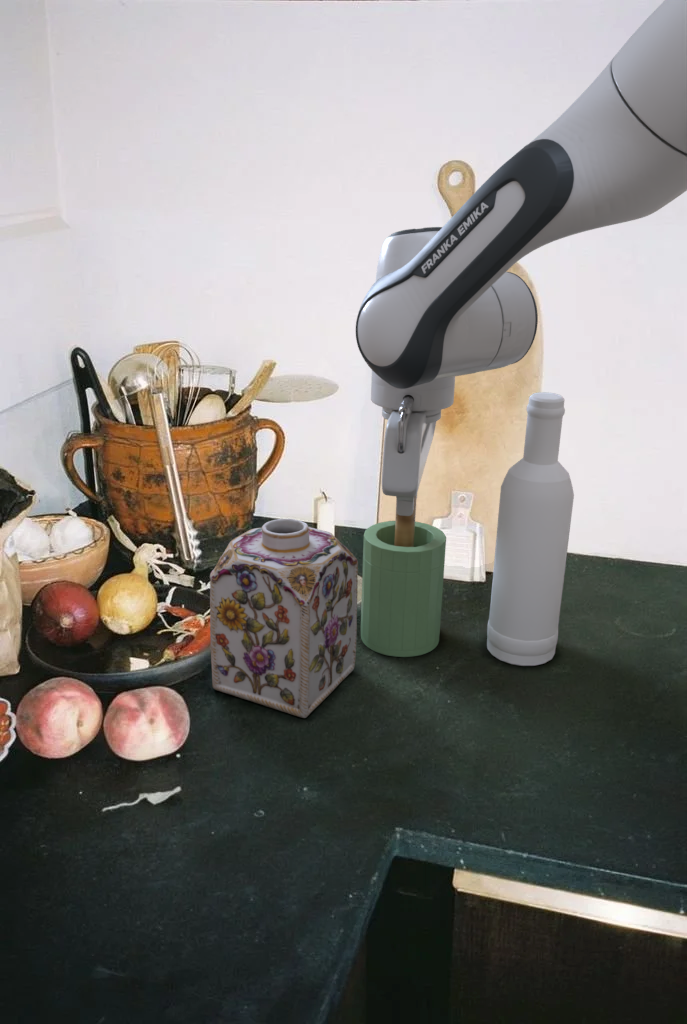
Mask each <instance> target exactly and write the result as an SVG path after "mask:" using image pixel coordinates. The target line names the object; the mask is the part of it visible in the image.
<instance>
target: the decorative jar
mask: <svg viewBox="0 0 687 1024" xmlns="http://www.w3.org/2000/svg"><path fill="white" fill-rule="evenodd" d="M358 575H359V561H358V559H357V558H356V556H354V554H353V553H352V551H350V550H349V549H348V547H347V546H346V545H344V544H343V543H342V542H340V540H339V539H338V538H337V537H336V536H335V535H334V534H333V533H332V532H330V531H327V530H324V529H323V530H322V529H318V528H315V527H311V526H309V525H308V523H306V522H305V521H303V520H298V519H294V518H278V519H272V520H269V521H266V522H265V523H264V524H263V525H262V526H261V527H256V528H251V529H248V530H247V531H246V532H245V531H244V533H241V534H239V535H238V536H236V537H234V538H233V539H232V540H231V541H230V542H229V543H228V545H227V546H226V548H225V549H224V552H222V555H221V556H220V557H219V559H218V561H217V563H216V565H215V566H214V568H213V569H212V570H211V571H210V574H209V581H210V582H209V584H210V585H209V620H210V621H209V634H210V635H209V636H210V637H209V638H210V663H211V679H212V681H211V682H212V683H211V684H212V685H211V686H212V688H213V689H214V690H215V691H217V692H220V693H224V694H227V695H230V696H234V697H236V698H240V699H242V700H246V701H248V702H252V703H255V704H258V705H262V706H264V707H267V708H270V709H274V710H277V711H279V712H282V713H286V714H288V715H292V716H295V717H298V718H302V719H306V718H308V716H310V714H311V713H313V712H314V711H315V709H317V707H319V706H320V705H321V704H322V703H323V702H324V701H325V700H326V698H328V697H329V696H330V695H331V694H332V693H333V692H334V691H335V689H336V688H337V687H338V686H339V685H340V684H341V683H342V682H343V681H344V680H345V679H346V678H347V677H348V676H349V675H350V674H351V673H352V672H353V671H354V669H355V666H356V658H357V637H358V635H357V631H358V627H357V626H358V581H359V580H358Z"/></svg>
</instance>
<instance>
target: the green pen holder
mask: <svg viewBox="0 0 687 1024" xmlns="http://www.w3.org/2000/svg"><path fill="white" fill-rule="evenodd" d="M364 530H365V531H364V533H363V543H362V544H363V545H362V546H363V547H362V574H361V575H362V577H361V603H360V604H361V606H360V610H361V611H360V639H361V641H362V643H363V644H364V645H365V646H366V647H367V648H368V649H370V650H371V651H373V652H376V653H378V654H381V655H385V656H389V657H397V658H411V657H418V656H422V655H425V654H428V653H430V652H431V651H433V650H434V649H436V648H437V646H438V645H439V642H440V633H441V623H442V620H441V619H442V608H443V607H442V605H443V591H444V576H445V564H446V563H445V561H446V549H447V548H446V547H447V535H446V534H445V532H444V531H443V530H441V529H440V528H438V527H436V526H434V525H431V524H428V523H425V522H419V521H415V534H414V547H401V546H394V542H395V520H388V521H381V522H377V523H375V524H371V525H370V526H369V527H368V528H365V529H364Z"/></svg>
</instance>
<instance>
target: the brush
mask: <svg viewBox="0 0 687 1024" xmlns="http://www.w3.org/2000/svg"><path fill="white" fill-rule="evenodd" d="M416 497H417V498H418V494H417V495H416V496H415V497H414V510H413V514H412V515H411V516H401V515H398V514H397V512H396V511H395V520H394V521H395V542H394V546H401V547H414V534H415V522H416V515H417V514H416V513H417V512H416V511H417V499H416ZM395 501H396V502H395V509H396V508H397V499H396V500H395Z"/></svg>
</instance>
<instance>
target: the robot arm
mask: <svg viewBox="0 0 687 1024" xmlns="http://www.w3.org/2000/svg"><path fill="white" fill-rule="evenodd" d="M685 192H687V0H664V1H663V2H661V4H659V5H658V6H657V8H656V9H654V11H652V13H650V15H649V16H648V17H647V18H646V19H645V20H644V21H643V22H642V23H641V24H640V26H639V27H638V28H637V29H636V30H635V32H634V33H632V34H631V36H630V37H629V38H628V39H627V41H626V42H625V43H624V44H623V45H622V47H621V48H620V49H619V50H618V52H616V54H615V55H614V56H613V57H612V58H611V60H610V61H609V62H608V64H607V65H606V66H605V67H604V68H603V70H602V71H601V72H600V73H599V75H597V76H596V78H595V79H594V80H593V81H592V82H591V83H590V84H589V86H588V87H587V88H586V89H585V90H584V91H583V92H582V93H581V94H580V95H579V96H578V97H577V98H576V100H574V102H572V104H571V105H570V106H568V107H567V108H566V110H565V111H564V112H562V113H561V114H560V115H559V117H557V119H555V120H554V121H553V122H552V123H551V124H550V125H549V126H548V127H546V129H544V130H543V131H542V132H540V133H539V134H538V135H537V136H536V137H535V138H533V140H531V141H530V142H529V143H527V144H526V145H525V146H523V148H521V149H520V150H519V151H518V152H516V153H515V154H514V155H513V156H512V157H510V158H509V159H508V160H507V161H506V162H504V163H503V164H502V165H501V166H500V167H499V168H498V169H497V170H495V172H493V173H492V174H491V176H490V177H488V178H487V179H486V180H485V181H484V182H483V184H481V186H480V187H479V188H478V189H477V190H476V191H475V192H474V193H473V194H472V195H471V196H470V197H469V198H468V199H467V200H466V202H464V204H462V206H460V208H459V209H458V210H457V211H456V212H455V213H454V214H453V215H452V217H450V218H449V220H447V222H446V223H445V224H444V225H443V226H429V227H423V228H422V227H421V228H408V229H403V230H399V231H395V232H392V233H391V234H389V235H388V236H387V237H386V238H385V239H384V241H383V242H382V245H381V248H380V251H379V254H378V255H379V256H378V261H377V265H376V273H375V280H374V283H373V284H371V286H370V288H369V290H368V291H367V293H366V294H365V296H364V298H363V300H362V302H361V304H360V307H359V310H358V312H357V317H356V321H355V340H356V345H357V348H358V350H359V353H360V354H361V357H362V359H363V360H364V362H365V363H366V365H367V366H368V367H369V368H370V369H371V384H370V386H371V387H370V400H371V402H372V404H374V405H375V406H376V405H377V406H378V407H381V417H383V418H384V419H385V420H387V422H386V427H385V431H384V439H383V452H382V468H381V469H382V471H381V490H382V494H383V495H385V496H389V497H396V499H397V508H396V507H395V513H396V512H397V514H398V515H401V516H411V515H412V514H413V510H414V497H415V496H416V495H417V497H416V500H417V499H418V492H419V489H420V485H421V481H422V478H423V474H424V471H425V467H426V463H427V460H428V456H429V453H430V450H431V446H432V443H433V440H434V436H435V431H436V426H437V422H438V421H439V420H441V418H442V410H445V409H448V408H450V407H452V406H453V404H454V403H455V388H456V387H455V385H456V377H460V376H466V375H472V374H476V373H481V372H487V371H493V370H498V369H503V368H505V367H508V366H510V365H514V364H516V363H518V362H519V361H521V360H522V359H523V358H524V357H525V356H526V355H527V354H528V352H529V351H530V349H531V347H532V346H533V344H534V341H535V339H536V335H537V332H538V331H537V330H538V322H539V317H538V316H539V315H538V314H539V313H538V308H537V303H536V299H535V297H534V294H533V292H532V290H531V288H530V287H529V285H528V284H527V282H525V280H524V279H523V278H522V277H520V276H519V275H518V274H516V273H513V272H511V271H509V270H510V269H511V268H512V267H513V266H514V265H515V264H516V263H517V262H519V261H520V260H522V259H523V258H524V257H526V256H527V255H529V254H531V253H533V252H534V251H536V250H539V249H540V248H542V247H543V246H546V245H548V244H551V243H553V242H556V241H559V240H561V239H564V238H567V237H571V236H574V235H578V234H581V233H585V232H589V231H592V230H596V229H601V228H605V227H609V226H613V225H618V224H622V223H623V224H624V223H628V222H632V221H636V220H639V219H643V218H646V217H649V216H650V215H653V214H655V213H656V212H658V211H660V210H661V209H662V208H664V207H665V206H667V205H668V204H670V203H671V202H673V201H674V200H675V199H677V198H679V197H680V196H681V195H683V194H684V193H685Z"/></svg>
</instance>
